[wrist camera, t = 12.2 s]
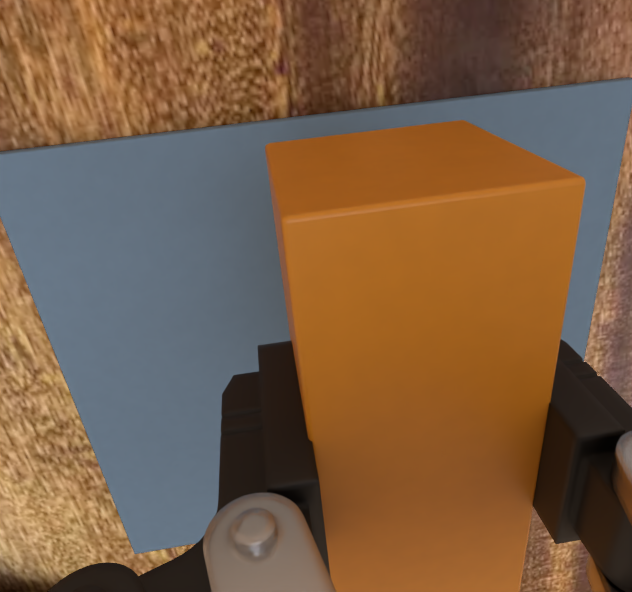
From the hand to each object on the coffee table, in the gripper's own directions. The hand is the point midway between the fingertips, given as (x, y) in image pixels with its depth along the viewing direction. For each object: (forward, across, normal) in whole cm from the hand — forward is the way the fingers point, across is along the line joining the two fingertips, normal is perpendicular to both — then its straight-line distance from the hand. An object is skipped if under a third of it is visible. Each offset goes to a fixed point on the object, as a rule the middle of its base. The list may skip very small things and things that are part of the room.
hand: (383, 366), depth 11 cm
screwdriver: (+1, 0, +6) cm, 6 cm away
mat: (+7, 0, +4) cm, 8 cm away
